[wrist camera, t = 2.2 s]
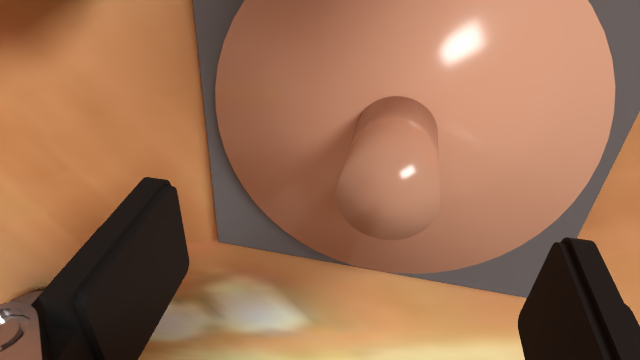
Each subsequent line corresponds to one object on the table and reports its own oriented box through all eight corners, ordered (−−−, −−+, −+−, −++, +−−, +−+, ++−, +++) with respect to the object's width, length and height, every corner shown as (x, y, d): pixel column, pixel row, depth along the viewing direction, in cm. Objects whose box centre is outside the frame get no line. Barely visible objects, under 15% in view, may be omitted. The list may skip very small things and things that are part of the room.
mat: (541, 289, 23) (545, 301, 22) (224, 232, 25) (218, 241, 24) (733, -111, 13) (749, -111, 12) (188, -141, 15) (177, -142, 15)
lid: (531, 283, 21) (558, 389, 17) (235, 231, 24) (189, 313, 19) (690, -73, 13) (826, -51, 9) (208, -104, 15) (115, -98, 11)
